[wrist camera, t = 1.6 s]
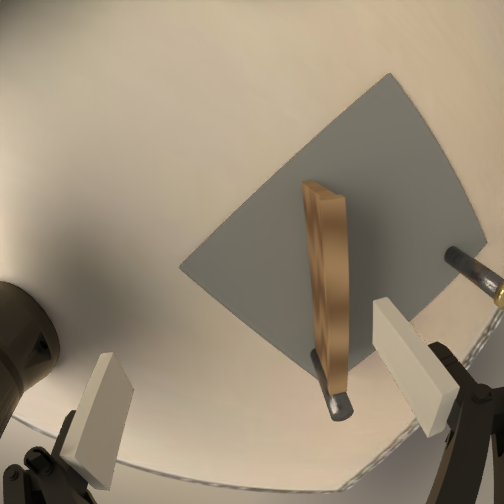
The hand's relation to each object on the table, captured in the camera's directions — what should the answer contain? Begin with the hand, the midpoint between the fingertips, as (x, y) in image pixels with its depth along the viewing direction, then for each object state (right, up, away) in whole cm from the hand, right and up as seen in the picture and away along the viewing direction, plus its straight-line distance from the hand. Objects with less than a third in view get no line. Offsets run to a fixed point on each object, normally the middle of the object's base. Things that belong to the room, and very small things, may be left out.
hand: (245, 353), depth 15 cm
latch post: (+25, +5, +21) cm, 33 cm away
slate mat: (+13, +5, +19) cm, 24 cm away
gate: (+7, +2, +19) cm, 20 cm away
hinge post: (+9, -8, +24) cm, 27 cm away
